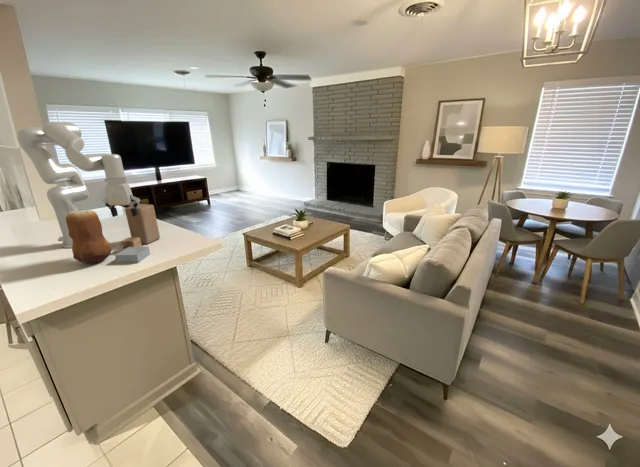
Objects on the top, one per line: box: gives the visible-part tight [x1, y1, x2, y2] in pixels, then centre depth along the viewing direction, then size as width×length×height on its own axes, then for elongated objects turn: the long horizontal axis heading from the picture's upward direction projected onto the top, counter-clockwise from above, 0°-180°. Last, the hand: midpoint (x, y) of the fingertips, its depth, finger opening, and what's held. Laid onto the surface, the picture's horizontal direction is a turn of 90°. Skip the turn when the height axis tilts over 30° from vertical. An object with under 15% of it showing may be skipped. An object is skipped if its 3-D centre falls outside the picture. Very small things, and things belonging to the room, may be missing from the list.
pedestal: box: [114, 246, 151, 264], centre depth 137 cm, size 10×10×4 cm
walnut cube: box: [120, 236, 143, 250], centre depth 147 cm, size 6×6×6 cm
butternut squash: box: [66, 209, 112, 264], centre depth 130 cm, size 14×13×25 cm
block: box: [124, 203, 161, 245], centre depth 157 cm, size 10×10×20 cm
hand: (125, 215), depth 142 cm, fingers open, 9 cm apart
